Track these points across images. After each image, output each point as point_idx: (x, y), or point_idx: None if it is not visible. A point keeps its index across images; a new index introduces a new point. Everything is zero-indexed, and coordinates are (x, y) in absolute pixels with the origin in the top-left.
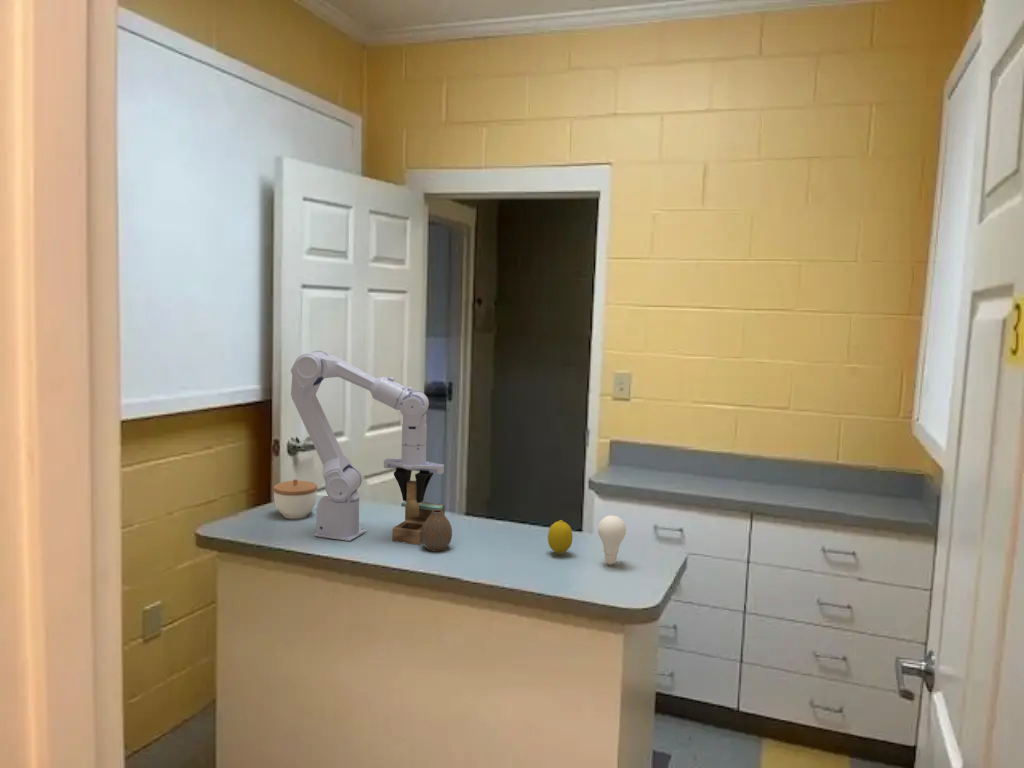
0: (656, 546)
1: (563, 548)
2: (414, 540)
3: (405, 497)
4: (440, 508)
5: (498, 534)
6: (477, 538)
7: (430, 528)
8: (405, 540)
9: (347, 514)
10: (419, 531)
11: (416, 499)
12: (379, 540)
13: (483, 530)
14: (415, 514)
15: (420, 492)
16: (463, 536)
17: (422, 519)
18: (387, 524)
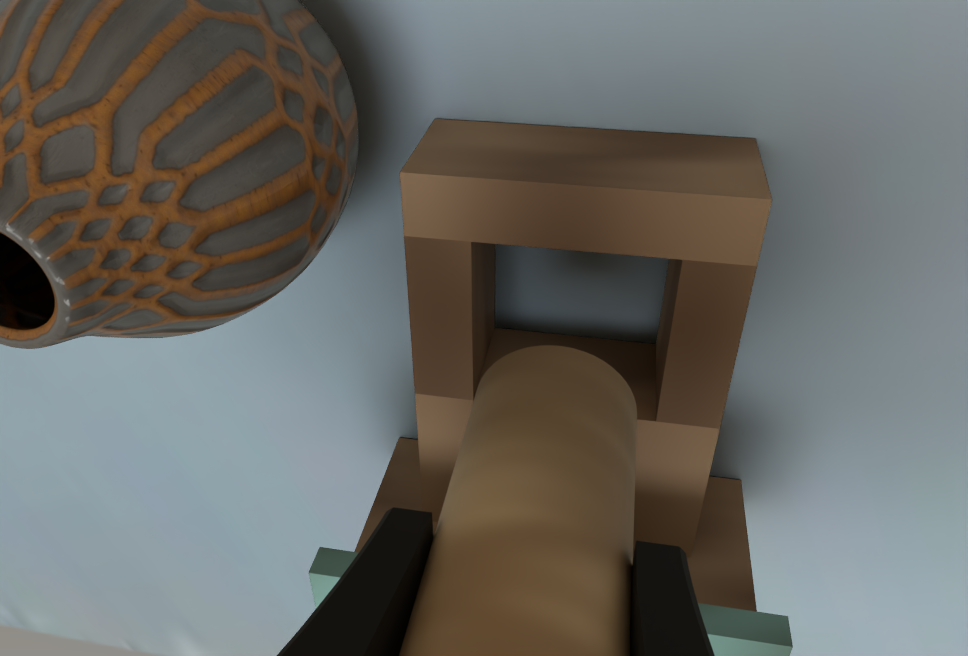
0: None
1: None
2: (486, 135)
3: (635, 589)
4: (314, 582)
5: (66, 488)
6: (122, 396)
7: (79, 1)
8: (593, 137)
9: None
10: (420, 199)
11: (434, 553)
12: (911, 113)
13: (188, 532)
14: (486, 385)
15: (294, 641)
16: (229, 411)
17: None
18: (927, 528)
